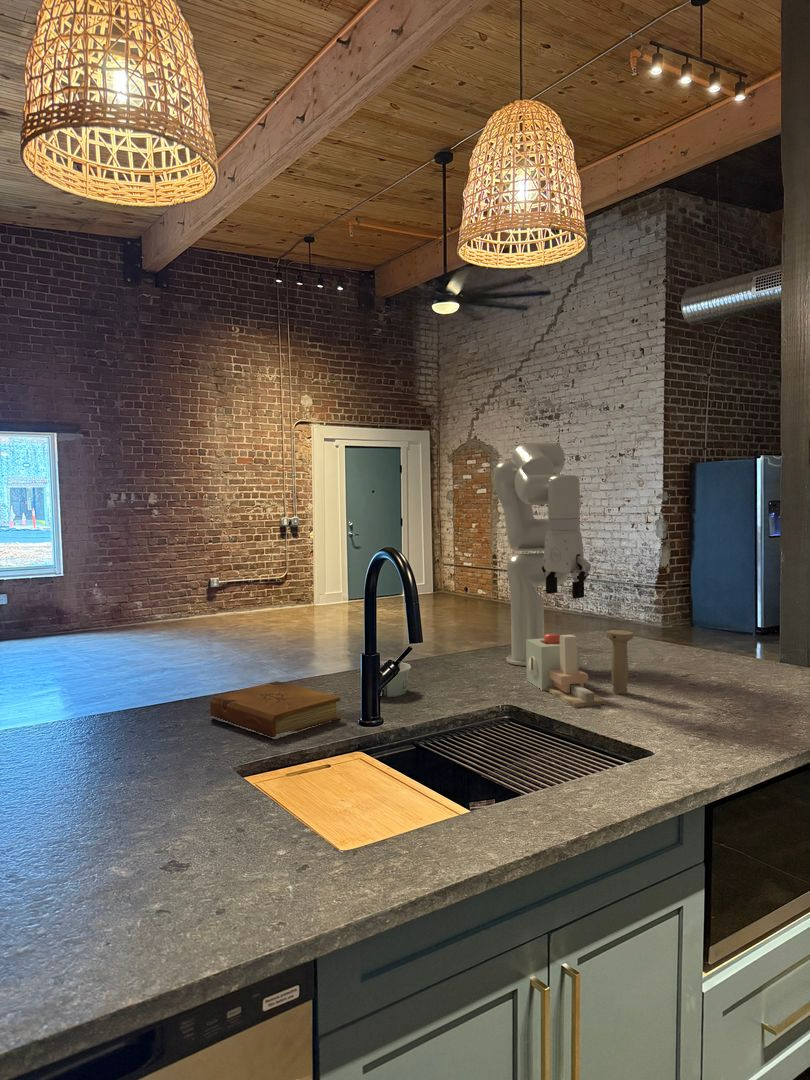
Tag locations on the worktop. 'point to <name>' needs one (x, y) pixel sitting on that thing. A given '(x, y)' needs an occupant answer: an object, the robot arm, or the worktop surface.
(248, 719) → the diary
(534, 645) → the gauge cabinet
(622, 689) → the handle
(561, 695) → the rail
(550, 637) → the button
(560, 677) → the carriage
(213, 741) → the worktop surface
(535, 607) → the robot arm
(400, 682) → the food container
